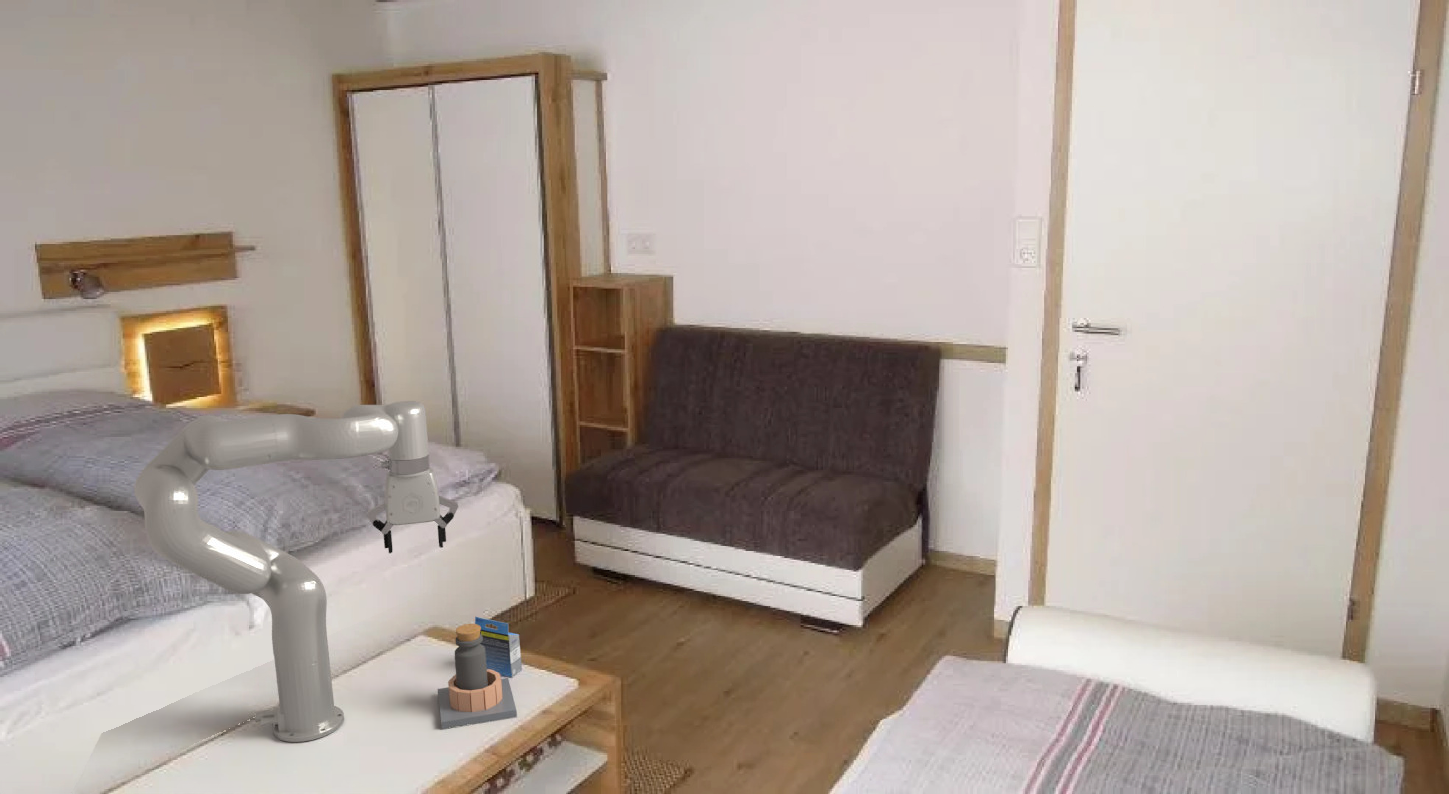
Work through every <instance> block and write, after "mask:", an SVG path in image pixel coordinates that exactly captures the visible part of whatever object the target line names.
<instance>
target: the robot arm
mask: <svg viewBox="0 0 1449 794" xmlns="http://www.w3.org/2000/svg"><path fill="white" fill-rule="evenodd" d="M341 416H342V417H341V418H319V417H313V416H306V415H300V414H295V413H294V414H293V413H282V414H275V415H274V414H273V415H266V416H264V415H263V416H259V417H249V418H241V419H240V418H239V419H232V420H231V419H230V420H225V419H223V418H222V417H219V416H216V415H203V416H200V417H198V418H196V419H194V420H193V421H191V422H189V423H188V424H187V425H186V426H185V427H184V428H183V429H182V430H180V432H179V433H178V434H177V435H175V437H173V438H172V439H171V441H169V442H168V443H167V444H166V446H165V447H163V449H162V450H161V451H160V452H158V454H156V456H154V458H152V459H151V460H150V462H149V463H147V465H146V466H144V468H143V469H142V470H141V471H140V472H139V474H138V476H137V478H136V480H135V483H134V495H135V498H136V500H137V502H138V503H139V505H140V506H141V507H142V509H143V512H144V530H145V535H146V538H147V541H148V542H149V545H150V546H151V548H152V549H153V551H154V552H156V553H157V554H158V555H159V556H160V557H162V558H164V559H165V560H166V561H169V562H171V563H172V564H174V565H176V566H179V567H180V568H182V569H185V570H187V571H188V572H190V573H192V574H193V575H196V576H198V577H201V578H202V579H204V580H206V581H209V582H211V583H213V584H215V585H217V586H219V587H221V588H222V589H224V590H227V591H228V592H230V593H234V594H236V595H237V594H239V595H250V594H252V595H254V596H256V597H258V598H260V599H262V600H263V601H264V602H265V604H266V605H267V606H268V608H269V610H270V614H271V641H272V643H271V644H272V653H273V656H274V657H273V658H274V666H275V667H274V668H275V675H276V685H277V694H278V706H275V707H273V709H269V710H259V711H258V710H257V711H255V713H254V718H255V722H256V723H260V725H261V727H265V726H269V725H273V726H272V729H273V734H274V736H275V737H276V738H277V739H279V740H280V741H284V742H290V743H300V742H301V743H302V742H308V741H309V742H310V741H314V740H318V739H320V738H323V737H326V736H328V735H330V734H332V733H334V732H335V731H337V730H338V729H339V728H340V727H341V726H342V725H343V724H344V720H345V715H344V714H345V713H344V711H343V710H342V709H341V708H340V707H338V706H337V705H335V701H334V700H335V699H334V692H333V683H332V671H331V670H332V669H331V663H330V662H331V661H330V652H329V642H328V634H327V633H328V632H327V630H328V629H327V603H328V602H327V593H326V589H325V586H324V584H323V582H322V581H321V579H320V577H319V576H318V575H317V574H315V572H314V571H312V570H311V569H310V568H309V567H308V566H307V565H306V564H305V563H303V562H302V560H300V559H298V558H297V557H295V556H293V555H291V554H289V553H288V552H286V551H284V550H282V549H280V548H278V547H276V546H274V545H272V544H269V543H267V542H266V541H263V540H262V539H259V538H258V537H255V536H254V535H252V534H249V533H247V532H245V531H240V530H230V531H229V530H228V531H223V530H221V529H220V528H219V527H216V526H214V525H212V524H210V523H207V522H206V521H204V520H202V519H201V518H200V515H199V513H198V508H199V495H198V491H197V487H195V485H196V484H197V483H198V482H199V481H200V480H201V479H202V478H203V477H204V476H205V475H206V474H207V472H208V471H209V470H211V471H227V470H234V469H240V468H241V469H242V468H248V467H253V466H254V467H255V466H260V465H261V466H262V465H268V464H276V463H281V462H282V463H283V462H290V461H319V460H320V461H322V460H323V461H324V460H325V461H326V460H343V459H344V460H345V459H353V458H358V457H359V458H360V457H365V456H373V455H378V454H382V453H384V452H386V451H387V452H388V453H387V455H388V458H387V459H386V460H385V461H384V460H383V461H380V463H381V465H380V466H381V469H386V470H388V472H387V473H386V474H385V480H384V501H382V502H381V503H379V504H378V505H376V506H374V507H373V508H371V509H370V510H368V511H367V512H366V517H367V518H368V520H369V521H370V523H371V524H372V526H373V527H374V528H375V529H377V530H378V531H380V532H381V533H382V535H383V543H384V549H388V550H387V551H388V554H392V553H393V537H392V530H391V529H392V528H393V527H394V526H403V525H413V524H415V525H416V524H421V523H423V524H424V523H425V524H426V523H430V522H431V523H432V522H434V523H436V524H437V535H438V537H437V538H438V548H444V543H446V542H447V535H446V534H447V533H446V532H447V531H446V528H447V527H448V526H447V525H449V523H450V522H451V521H452V520H453V519H454V518H455V514H456V512H457V510H458V508H459V504H458V502H456V501H455V500H454V501H453V500H451V499H449V498H446V497H443V496H441V495H439V487H438V483H437V478H436V473H435V471H434V469H433V467H430V455H429V454H430V451H429V439H428V426H427V413H426V407H425V406H424V404H423V403H422V402H419V401H415V400H403V401H397V402H396V401H395V402H392V403H390V404H360V405H359V404H358V405H354V406H352V407H351V408H349V409H347V410H345V412H344V413H343V414H342V415H341ZM440 505H441V506H444V507H445V508H446V507H447V508H449V510H448V511H447V512H446V514H445V515H444V516H442V514H441V506H440ZM384 511H385V518H386V520H385V521H384V522H383V521H381V520H380V519H379V518H378V517H377V515H379V514H380V513H382V512H384Z"/></svg>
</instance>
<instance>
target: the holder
mask: <svg viewBox="0 0 1449 794" xmlns="http://www.w3.org/2000/svg"><path fill="white" fill-rule="evenodd" d="M501 676H502V675H500V673H498V672H496V671H494V670H491V669H487V680H488V686H487V687H485V688H483V689H477V690H460V689H459V688H457V680H456V674H454V675H453V676H452V677H451V678H450V679H449V680H448V681H447V684H448V686H447V687H442V688H437V697H438V699H439V700H438V707H439V713H440V714H439V715H440V724H441V730H447V729H446V728H448V729H450V728H449V727H454V728H456V727H455V726H460V727H464V726H463V725H466V726H468V725H467V724H472V725H478V724H483V723H490V722H496V721H500V720H501V721H502V720H506V719H513V718H517V717H518V716H517V715H518V713H517V707H516V704H515V700H514V695H513V691H512V687H511V684H510V680H509V677H506V678H505V677H504V678H502V677H501ZM489 721H490V722H489ZM477 723H478V724H477Z"/></svg>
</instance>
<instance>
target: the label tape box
mask: <svg viewBox="0 0 1449 794" xmlns="http://www.w3.org/2000/svg"><path fill="white" fill-rule="evenodd" d="M474 624H477V625H479V626H480V627H481V630H480V634H481V635H482V638H483V640H482V642H481V643H480V644H481V645H483V646H484V647H485V653H486V666H487V669H491V670H494V671H496V672H498V673H500V676H503V677H508V676H509V677H508V678H514V677H515V676H516V675H518V674H519V673H521V672H522V670H523V666H522V665H523V664H522V655H521V653H522V652H521V645H520V634H518V633H513V632H509V623H508V622H502V621H498V620H493V619H489V618H483V617H479V616H476V615H475V619H474ZM486 625H488V626H490V625H492V626H493V627H496V628H492V627H487V626H486ZM517 673H518V674H517ZM513 676H514V677H513Z"/></svg>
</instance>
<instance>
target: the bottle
mask: <svg viewBox="0 0 1449 794" xmlns="http://www.w3.org/2000/svg"><path fill="white" fill-rule="evenodd" d="M480 630H481V627H480V626H479V625H477V624H475V623H467V624H466V623H465V624H463V625H459V626H458V627H456V629H455V633H456V637H455V640H454V641H455V645H456V646H457V647H456V649H455V650H454V665H455V666H454V667H455V675H456V680H457V688H459V689H460V690H477V689H483V688H485V687H487V686H488V680H487V666H486V653H485V647H484V646H483V645H481V644H480V643H481V642H482V640H483V638H482V635H481V634H480Z"/></svg>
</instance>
